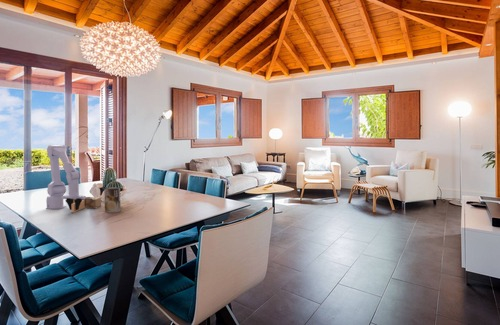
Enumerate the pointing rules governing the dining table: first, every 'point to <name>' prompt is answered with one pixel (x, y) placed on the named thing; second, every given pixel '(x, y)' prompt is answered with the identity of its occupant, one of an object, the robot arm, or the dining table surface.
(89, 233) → the dining table surface
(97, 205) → the wooden block
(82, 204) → the tall wooden plank
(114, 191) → the coffee box
